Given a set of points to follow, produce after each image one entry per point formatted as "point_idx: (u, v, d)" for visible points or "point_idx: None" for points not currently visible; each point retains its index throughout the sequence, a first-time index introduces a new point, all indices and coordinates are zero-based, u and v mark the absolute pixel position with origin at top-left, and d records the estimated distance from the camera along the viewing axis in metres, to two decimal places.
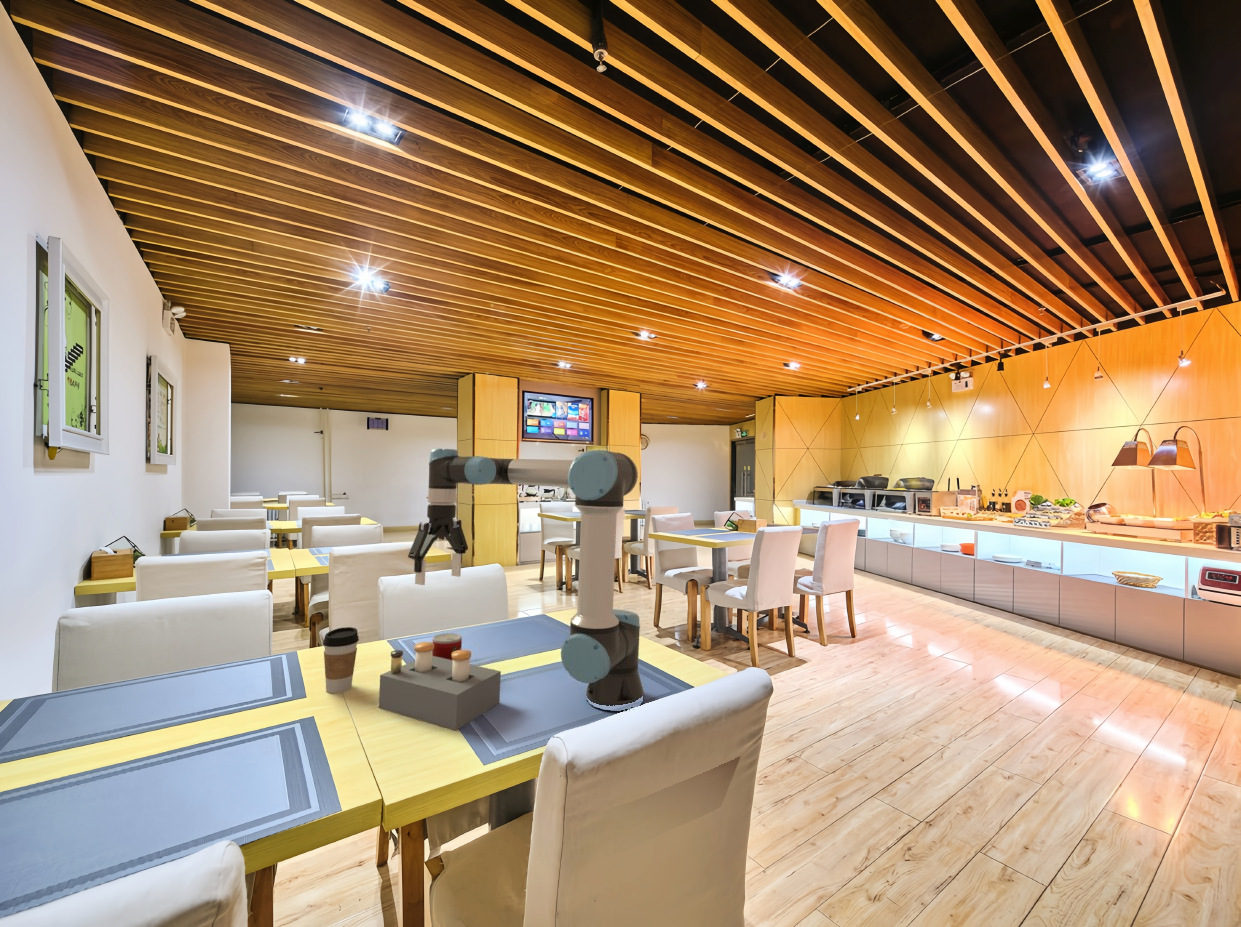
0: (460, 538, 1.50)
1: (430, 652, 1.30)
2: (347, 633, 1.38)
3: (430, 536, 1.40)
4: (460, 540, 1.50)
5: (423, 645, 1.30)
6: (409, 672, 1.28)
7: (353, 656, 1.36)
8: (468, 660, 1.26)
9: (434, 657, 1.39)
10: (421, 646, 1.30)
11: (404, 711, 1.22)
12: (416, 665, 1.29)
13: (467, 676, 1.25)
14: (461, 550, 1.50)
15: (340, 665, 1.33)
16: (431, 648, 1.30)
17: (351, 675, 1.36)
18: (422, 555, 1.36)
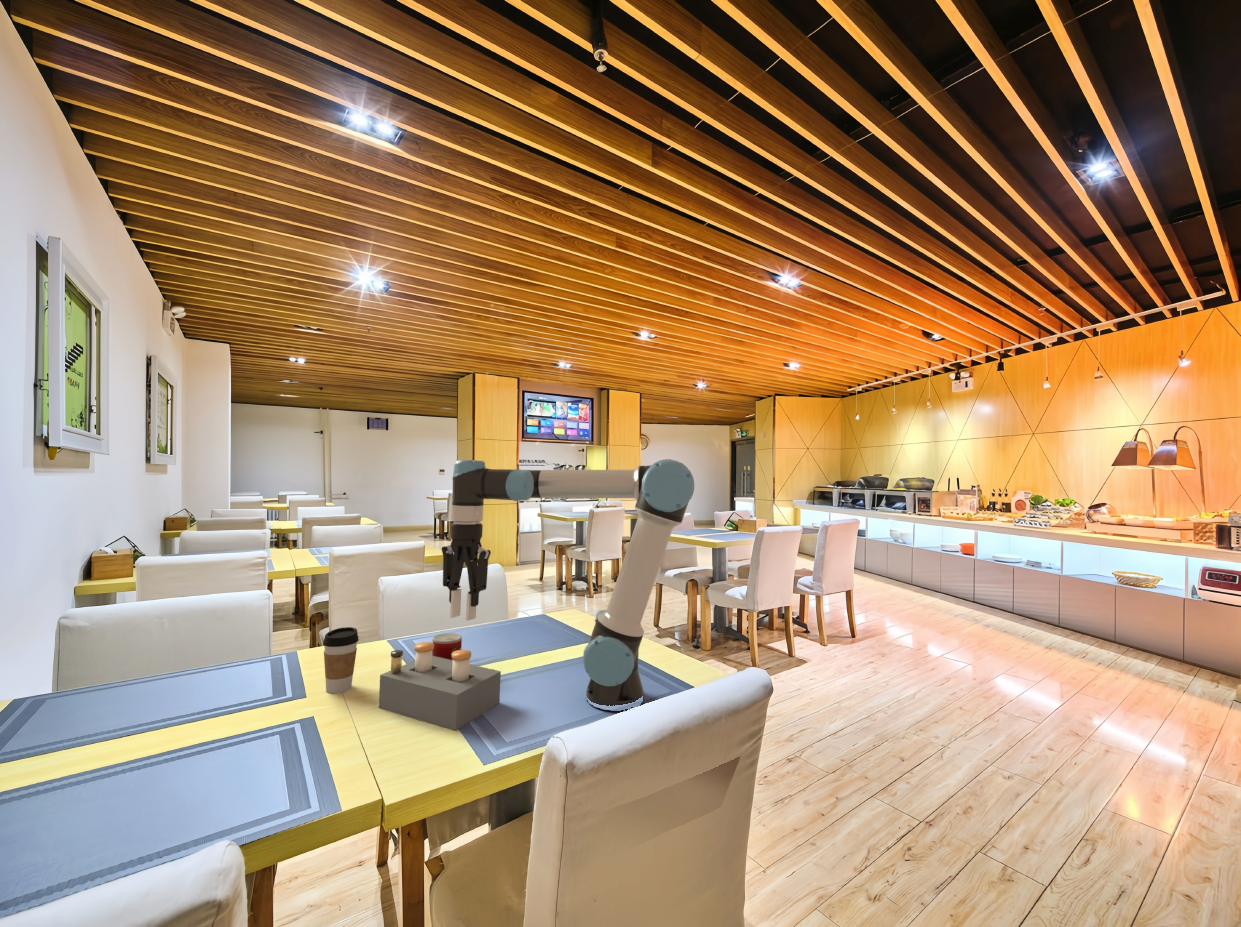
0: None
1: (430, 652, 1.30)
2: (347, 633, 1.38)
3: None
4: None
5: (423, 645, 1.30)
6: (409, 672, 1.28)
7: (353, 656, 1.36)
8: (468, 660, 1.26)
9: (434, 657, 1.39)
10: (421, 646, 1.30)
11: (404, 711, 1.22)
12: (416, 665, 1.29)
13: (467, 676, 1.25)
14: (471, 589, 1.24)
15: (340, 665, 1.33)
16: (431, 648, 1.30)
17: (351, 675, 1.36)
18: (449, 584, 1.27)
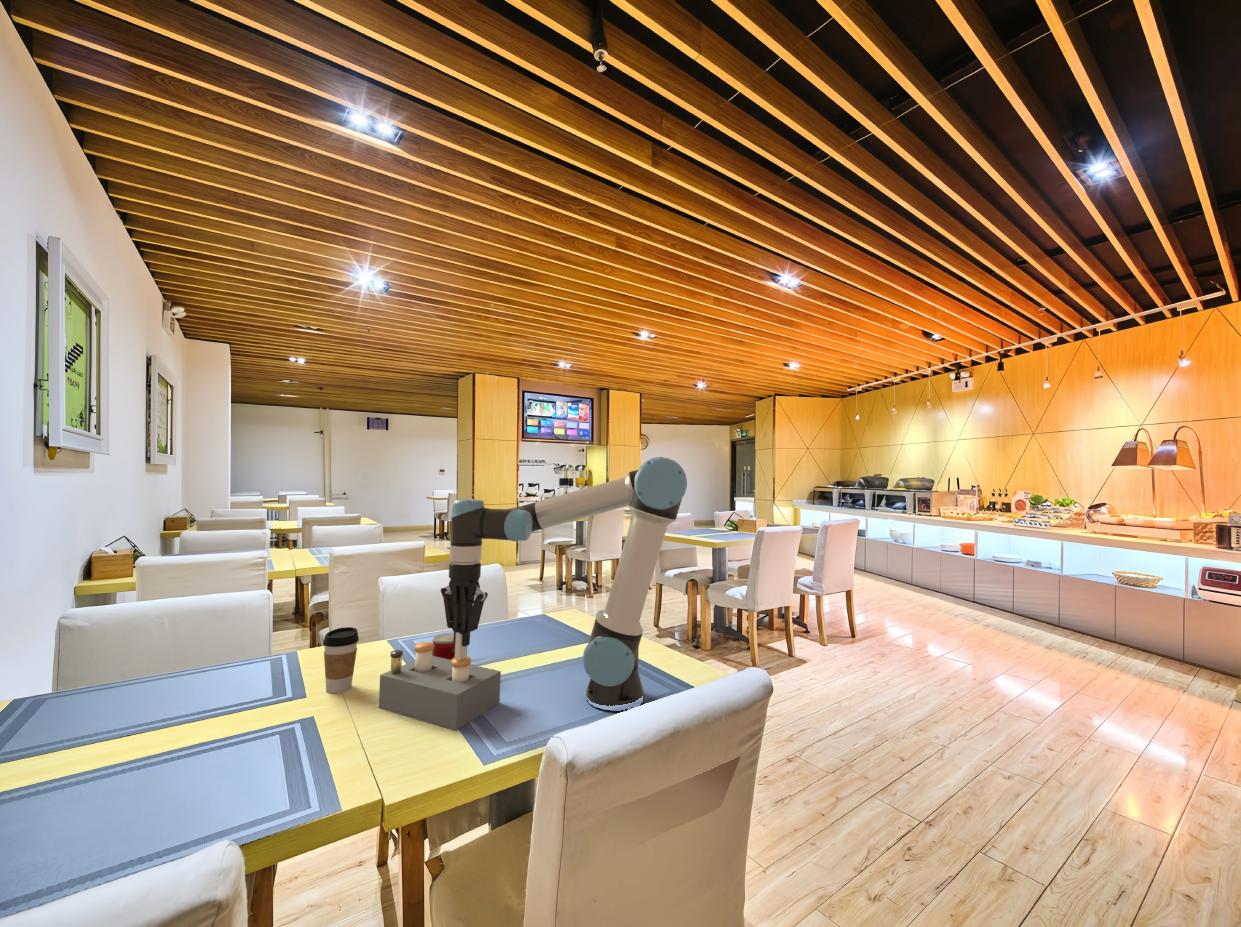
0: None
1: (430, 652, 1.30)
2: (347, 633, 1.38)
3: None
4: None
5: (423, 645, 1.30)
6: (409, 672, 1.28)
7: (353, 656, 1.36)
8: (468, 667, 1.26)
9: (434, 657, 1.39)
10: (421, 646, 1.30)
11: (404, 711, 1.22)
12: (416, 665, 1.29)
13: None
14: (462, 629, 1.25)
15: (340, 665, 1.33)
16: (431, 648, 1.30)
17: (351, 675, 1.36)
18: (453, 626, 1.26)
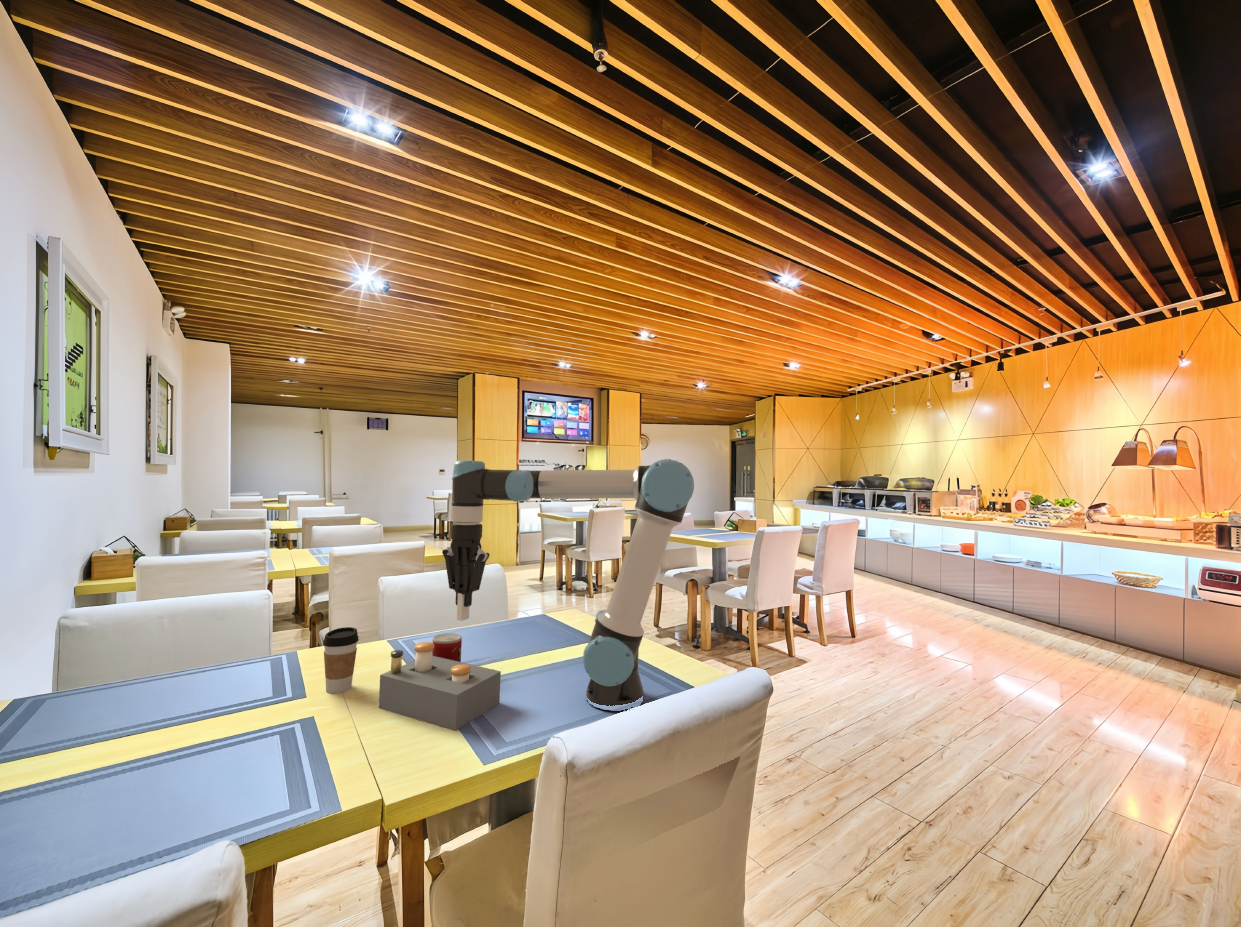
0: None
1: (430, 652, 1.30)
2: (347, 633, 1.38)
3: None
4: None
5: (423, 645, 1.30)
6: (409, 672, 1.28)
7: (353, 656, 1.36)
8: (467, 675, 1.25)
9: (434, 657, 1.39)
10: (421, 646, 1.30)
11: (404, 711, 1.22)
12: (416, 665, 1.29)
13: None
14: (464, 589, 1.25)
15: (340, 665, 1.33)
16: (431, 648, 1.30)
17: (351, 675, 1.36)
18: (455, 587, 1.26)
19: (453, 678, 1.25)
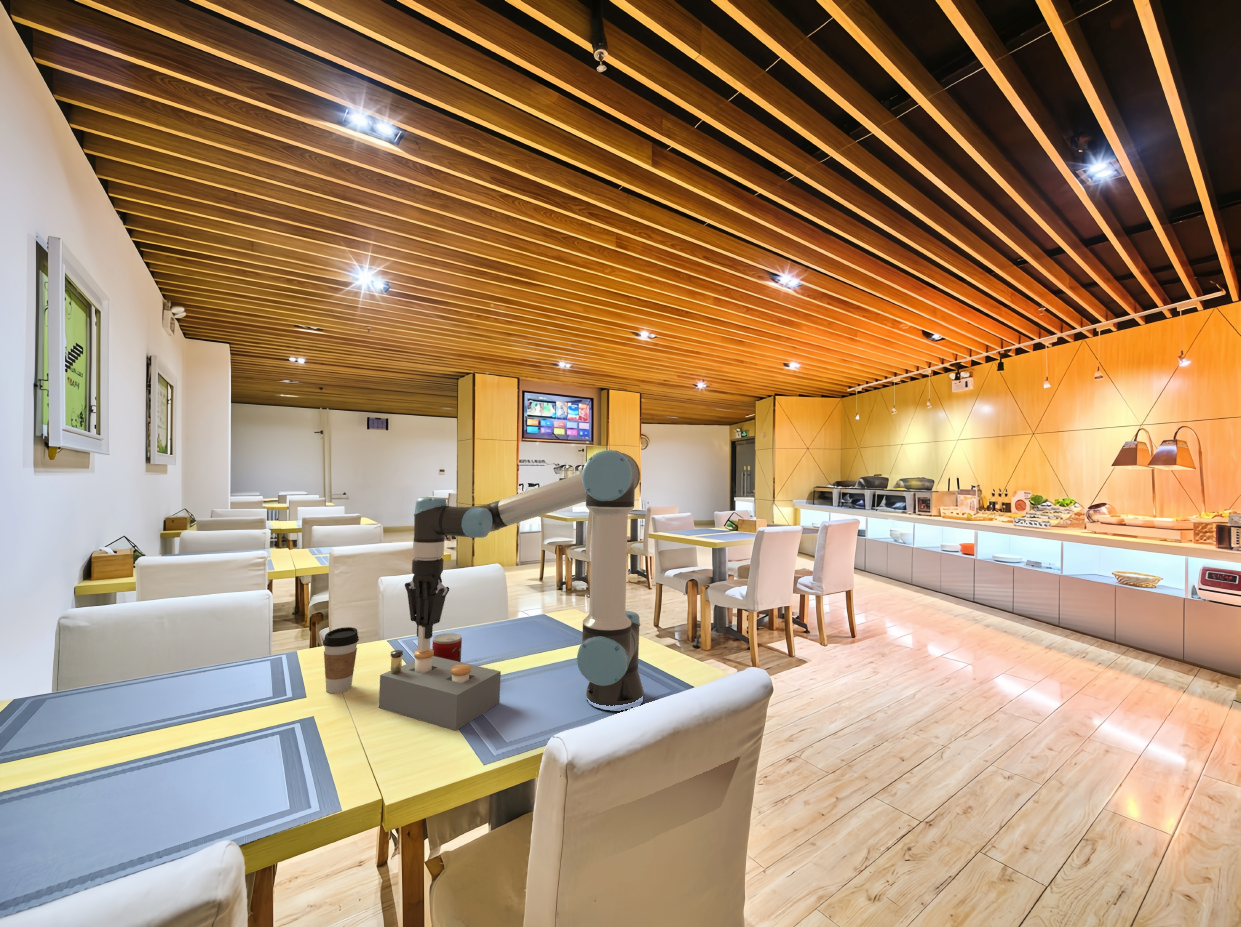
0: None
1: (430, 659, 1.30)
2: (347, 633, 1.38)
3: None
4: None
5: (422, 652, 1.30)
6: (409, 672, 1.28)
7: (353, 656, 1.36)
8: (467, 675, 1.25)
9: (434, 657, 1.39)
10: (420, 653, 1.30)
11: (404, 711, 1.22)
12: None
13: None
14: (425, 622, 1.30)
15: (340, 665, 1.33)
16: (431, 655, 1.30)
17: (351, 675, 1.36)
18: (416, 619, 1.31)
19: (453, 678, 1.25)
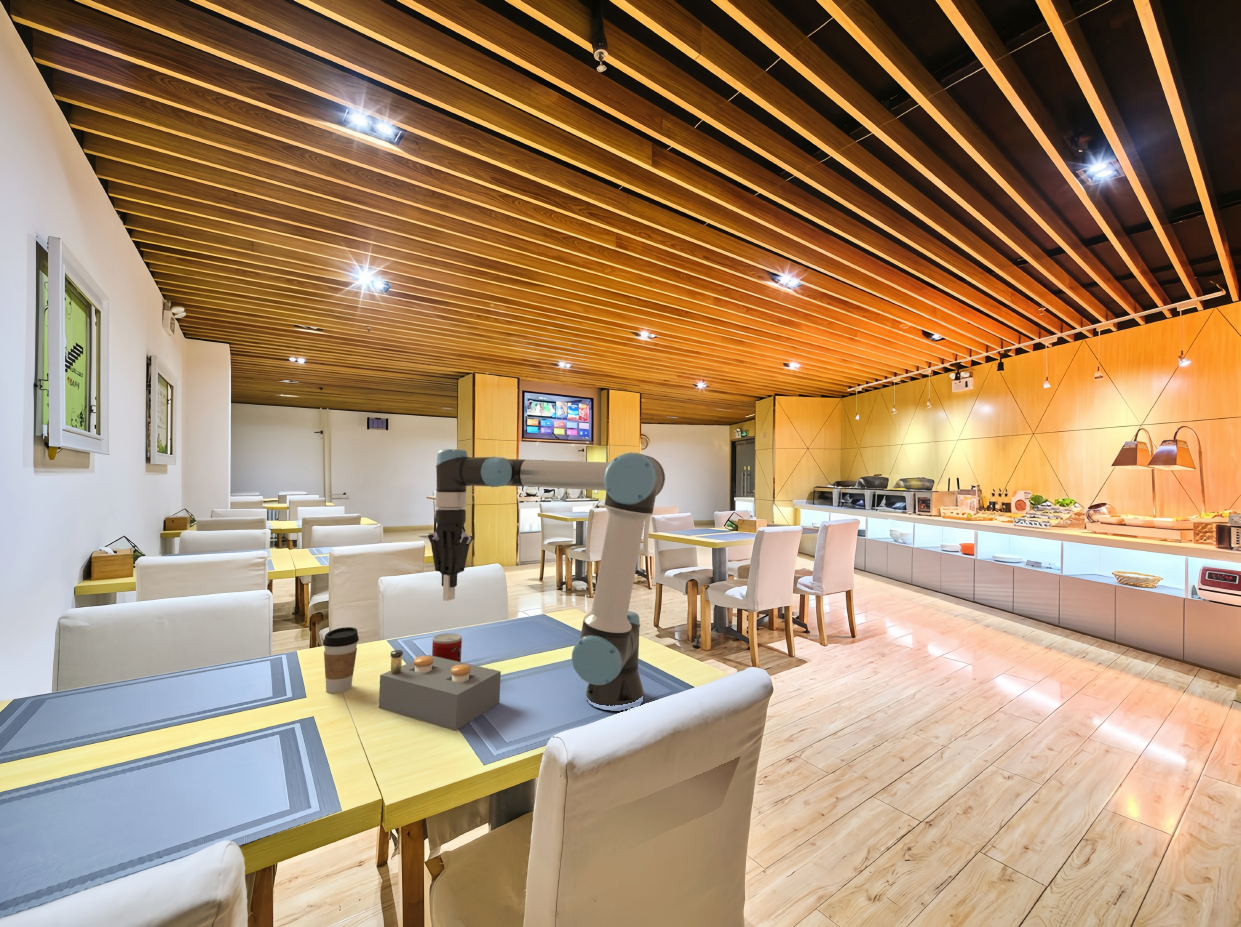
0: None
1: (429, 666, 1.30)
2: (347, 633, 1.38)
3: None
4: None
5: (422, 659, 1.30)
6: (409, 672, 1.28)
7: (353, 656, 1.36)
8: (467, 675, 1.25)
9: (434, 657, 1.39)
10: (420, 660, 1.30)
11: (404, 711, 1.22)
12: None
13: None
14: (449, 570, 1.32)
15: (340, 665, 1.33)
16: (430, 662, 1.30)
17: (351, 675, 1.36)
18: (441, 569, 1.33)
19: (453, 678, 1.25)
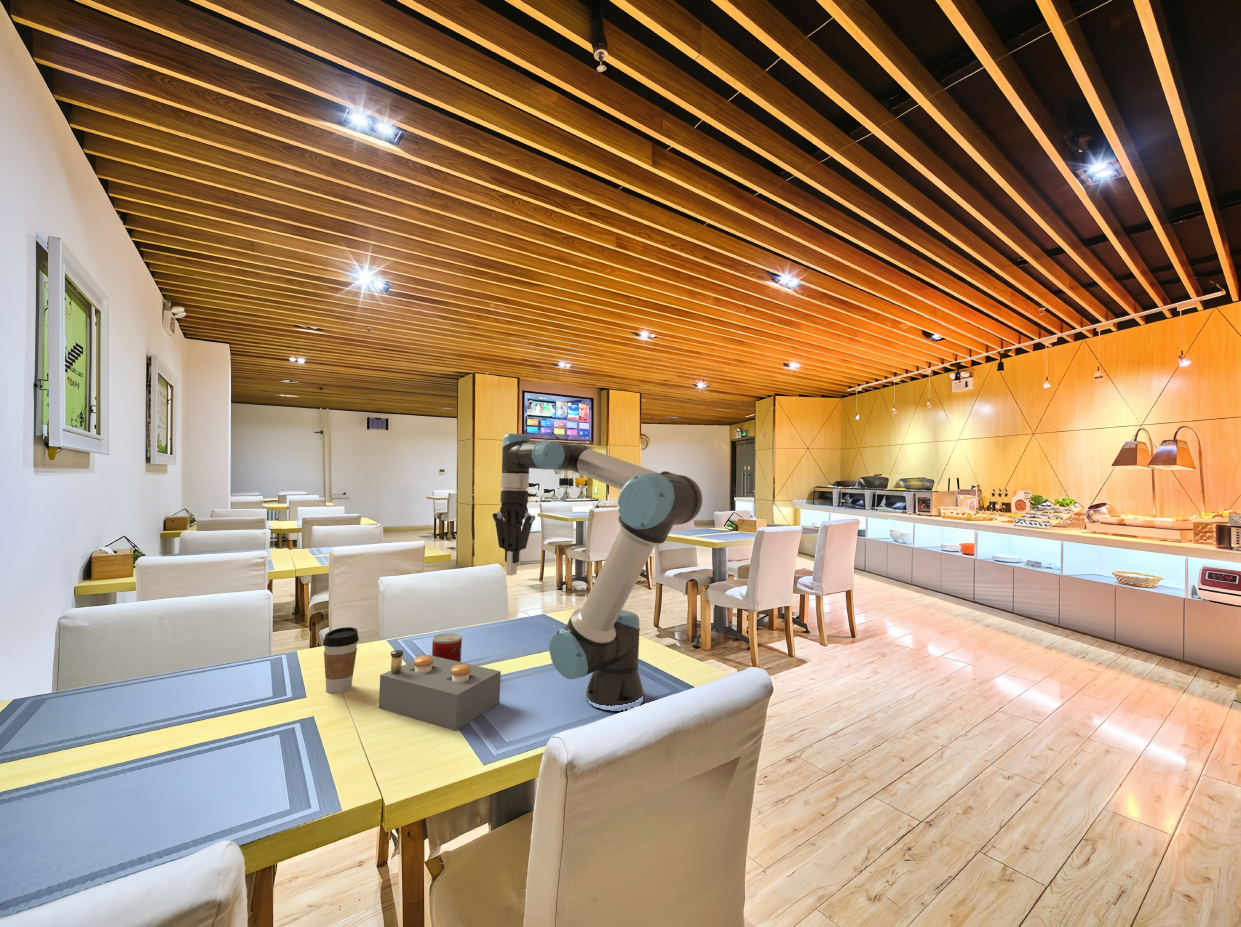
0: None
1: (429, 666, 1.30)
2: (347, 633, 1.38)
3: None
4: None
5: (422, 659, 1.30)
6: (409, 672, 1.28)
7: (353, 656, 1.36)
8: (467, 675, 1.25)
9: (434, 657, 1.39)
10: (420, 660, 1.30)
11: (404, 711, 1.22)
12: None
13: None
14: (513, 547, 1.41)
15: (340, 665, 1.33)
16: (430, 662, 1.30)
17: (351, 675, 1.36)
18: (505, 546, 1.42)
19: (453, 678, 1.25)
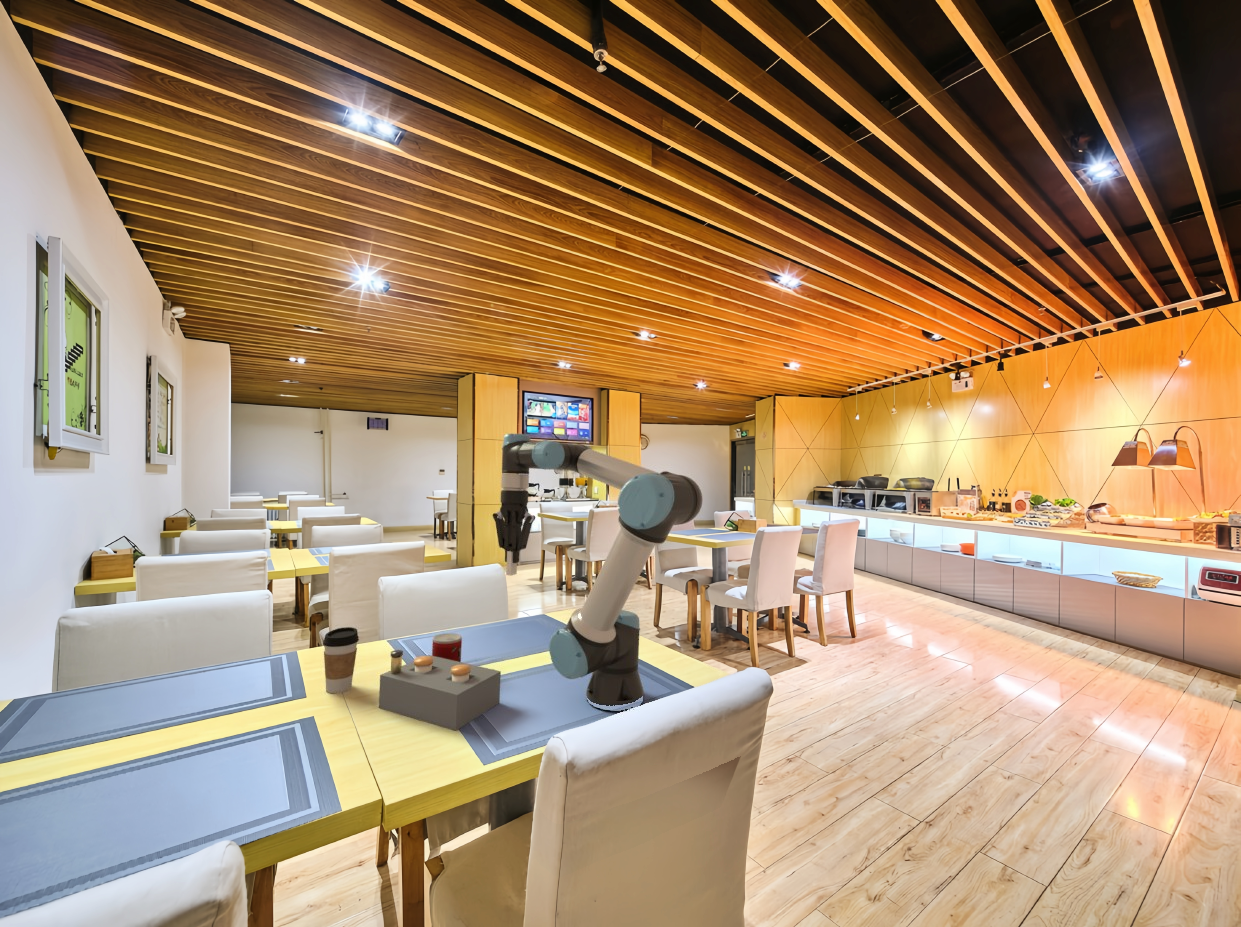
0: None
1: (429, 666, 1.30)
2: (347, 633, 1.38)
3: None
4: None
5: (422, 659, 1.30)
6: (409, 672, 1.28)
7: (353, 656, 1.36)
8: (467, 675, 1.25)
9: (434, 657, 1.39)
10: (420, 660, 1.30)
11: (404, 711, 1.22)
12: None
13: None
14: (513, 547, 1.41)
15: (340, 665, 1.33)
16: (430, 662, 1.30)
17: (351, 675, 1.36)
18: (505, 546, 1.42)
19: (453, 678, 1.25)
